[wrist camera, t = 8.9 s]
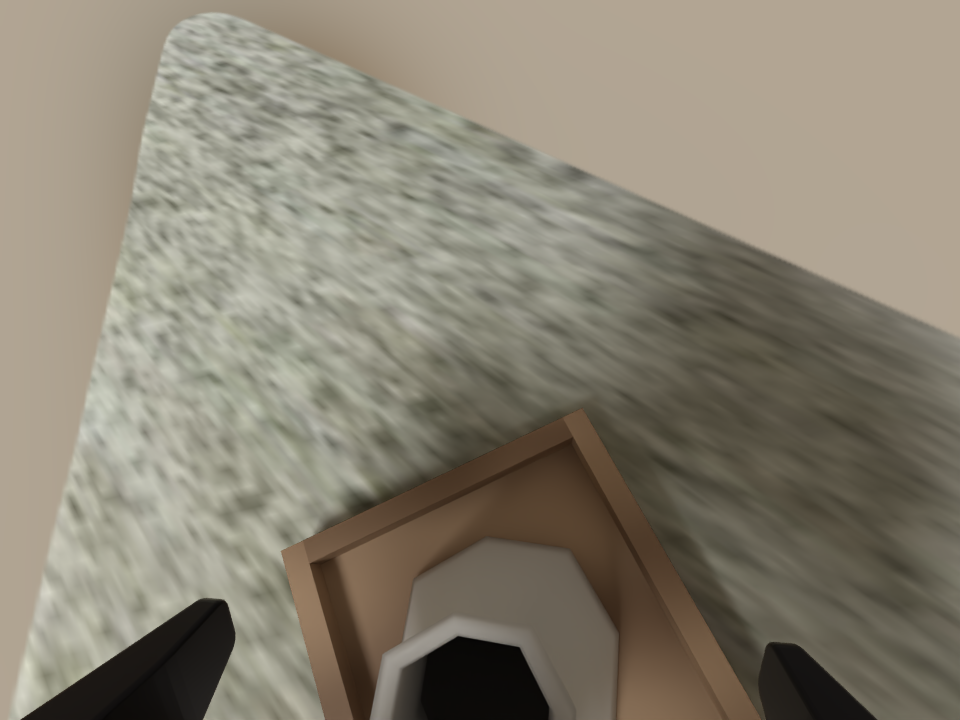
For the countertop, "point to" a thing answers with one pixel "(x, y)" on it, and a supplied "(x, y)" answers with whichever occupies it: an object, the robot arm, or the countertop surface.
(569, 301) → the countertop surface
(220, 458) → the countertop surface
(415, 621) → the flask
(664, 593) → the walnut tray
